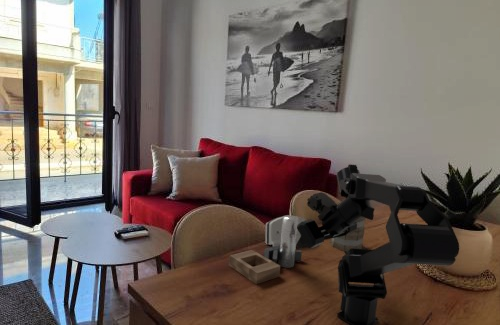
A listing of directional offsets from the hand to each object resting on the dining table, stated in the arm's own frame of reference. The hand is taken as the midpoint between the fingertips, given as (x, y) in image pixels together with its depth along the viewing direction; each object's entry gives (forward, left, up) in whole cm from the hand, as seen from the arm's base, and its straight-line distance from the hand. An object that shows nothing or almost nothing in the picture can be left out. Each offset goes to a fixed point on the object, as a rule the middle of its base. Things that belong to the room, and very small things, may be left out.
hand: (308, 242), depth 90 cm
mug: (+10, -30, -10) cm, 33 cm away
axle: (+8, 0, -9) cm, 12 cm away
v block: (+10, 0, -9) cm, 14 cm away
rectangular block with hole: (+9, +11, -9) cm, 17 cm away
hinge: (+20, -13, -10) cm, 26 cm away
